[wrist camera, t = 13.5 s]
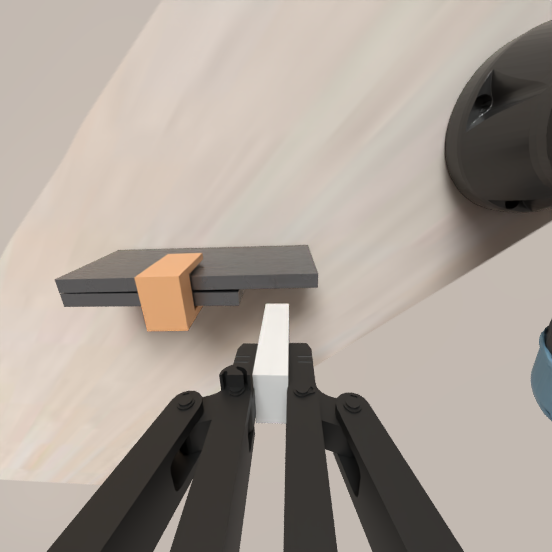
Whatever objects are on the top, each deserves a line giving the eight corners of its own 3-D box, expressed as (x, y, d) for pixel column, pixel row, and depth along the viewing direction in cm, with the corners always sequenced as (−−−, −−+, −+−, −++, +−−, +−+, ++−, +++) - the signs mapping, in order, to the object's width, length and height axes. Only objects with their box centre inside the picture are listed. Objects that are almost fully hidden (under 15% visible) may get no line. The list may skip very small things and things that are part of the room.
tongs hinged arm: (250, 260, 30) (238, 292, 22) (250, 270, 30) (239, 305, 22) (119, 261, 30) (59, 294, 22) (122, 271, 31) (64, 306, 23)
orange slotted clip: (202, 252, 24) (178, 276, 19) (208, 297, 26) (187, 330, 20) (168, 253, 25) (134, 277, 19) (176, 297, 26) (147, 331, 21)
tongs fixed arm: (307, 245, 29) (317, 273, 21) (307, 271, 30) (317, 308, 22) (118, 250, 30) (54, 279, 22) (124, 275, 31) (66, 312, 23)
